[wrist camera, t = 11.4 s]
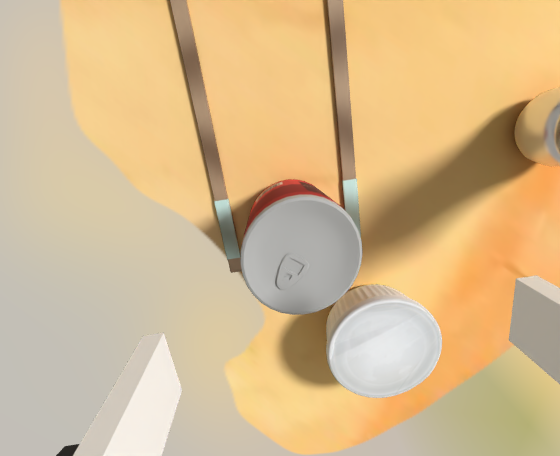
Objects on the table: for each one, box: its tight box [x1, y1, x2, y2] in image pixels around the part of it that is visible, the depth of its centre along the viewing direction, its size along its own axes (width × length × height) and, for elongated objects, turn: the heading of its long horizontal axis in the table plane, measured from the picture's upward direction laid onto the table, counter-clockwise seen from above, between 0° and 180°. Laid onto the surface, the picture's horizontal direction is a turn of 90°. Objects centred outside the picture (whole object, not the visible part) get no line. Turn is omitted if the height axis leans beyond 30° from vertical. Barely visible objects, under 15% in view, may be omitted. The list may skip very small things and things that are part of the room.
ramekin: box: [326, 284, 442, 398], centre depth 31 cm, size 11×11×5 cm
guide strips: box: [170, 0, 361, 272], centre depth 27 cm, size 27×14×1 cm, turn 9°
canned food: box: [241, 180, 362, 315], centre depth 24 cm, size 8×8×11 cm
